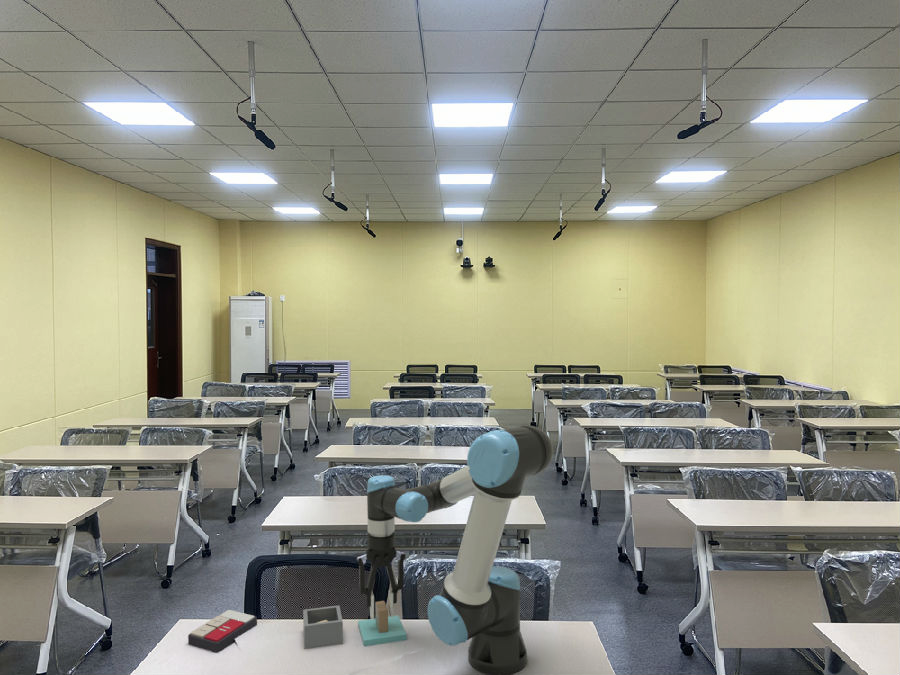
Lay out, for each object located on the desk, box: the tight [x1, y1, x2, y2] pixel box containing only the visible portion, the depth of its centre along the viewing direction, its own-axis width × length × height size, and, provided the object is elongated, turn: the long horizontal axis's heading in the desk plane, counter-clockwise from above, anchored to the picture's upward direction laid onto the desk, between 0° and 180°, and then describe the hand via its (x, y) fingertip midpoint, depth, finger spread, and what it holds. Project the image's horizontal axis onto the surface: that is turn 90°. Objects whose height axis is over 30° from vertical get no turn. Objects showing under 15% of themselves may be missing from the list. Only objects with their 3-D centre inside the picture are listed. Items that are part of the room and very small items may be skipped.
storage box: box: [302, 605, 344, 650], centre depth 165 cm, size 10×10×7 cm
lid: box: [357, 600, 408, 647], centre depth 168 cm, size 12×12×8 cm
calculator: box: [187, 609, 258, 654], centre depth 169 cm, size 11×4×15 cm
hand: (381, 615), depth 168 cm, fingers open, 5 cm apart
